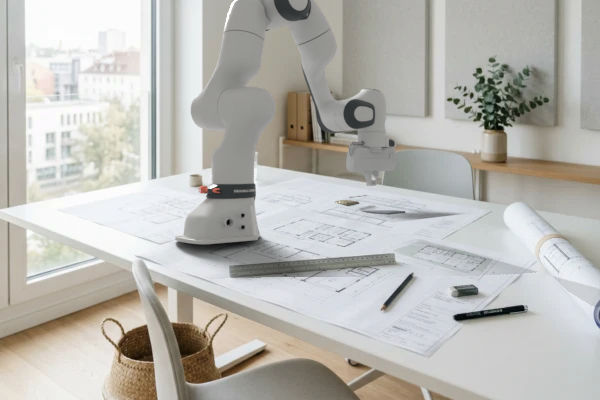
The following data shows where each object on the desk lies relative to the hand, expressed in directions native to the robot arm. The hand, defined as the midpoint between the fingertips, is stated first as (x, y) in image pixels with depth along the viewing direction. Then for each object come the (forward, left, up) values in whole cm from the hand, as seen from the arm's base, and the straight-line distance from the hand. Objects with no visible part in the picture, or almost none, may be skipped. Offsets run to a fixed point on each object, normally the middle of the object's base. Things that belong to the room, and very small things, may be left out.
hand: (371, 185), depth 190 cm
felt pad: (0, -4, -8) cm, 9 cm away
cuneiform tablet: (0, +5, -6) cm, 7 cm away
